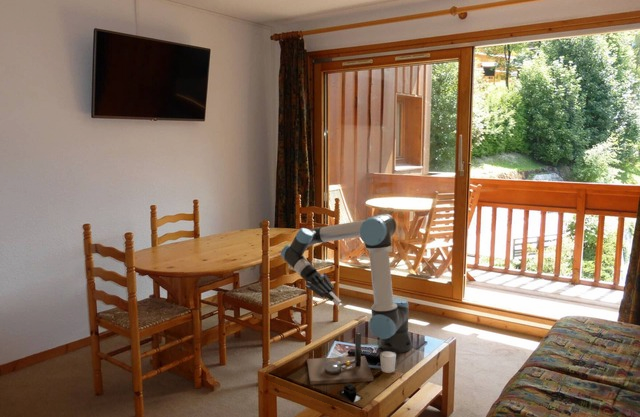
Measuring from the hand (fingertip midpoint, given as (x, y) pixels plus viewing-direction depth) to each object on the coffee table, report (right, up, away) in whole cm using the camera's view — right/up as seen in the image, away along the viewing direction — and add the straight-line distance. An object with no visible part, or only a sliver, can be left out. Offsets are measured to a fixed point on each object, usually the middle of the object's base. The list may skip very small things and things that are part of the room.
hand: (339, 303), depth 221 cm
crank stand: (-1, -26, -13) cm, 29 cm away
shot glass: (+20, -26, -12) cm, 35 cm away
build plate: (+3, -30, -33) cm, 44 cm away
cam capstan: (+1, -25, -15) cm, 29 cm away
